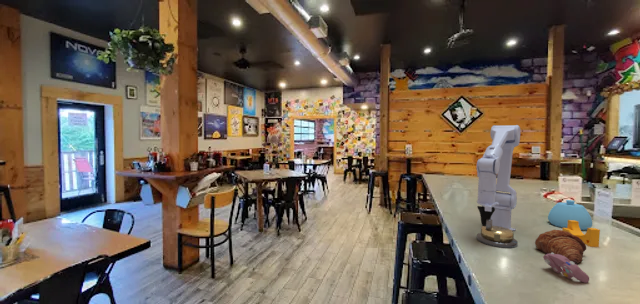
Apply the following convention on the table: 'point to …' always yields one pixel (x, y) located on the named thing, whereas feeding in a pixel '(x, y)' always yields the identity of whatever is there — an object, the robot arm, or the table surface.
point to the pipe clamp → (589, 238)
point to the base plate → (497, 244)
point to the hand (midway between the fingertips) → (485, 225)
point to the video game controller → (565, 267)
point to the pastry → (561, 244)
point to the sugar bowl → (569, 215)
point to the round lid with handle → (496, 232)
